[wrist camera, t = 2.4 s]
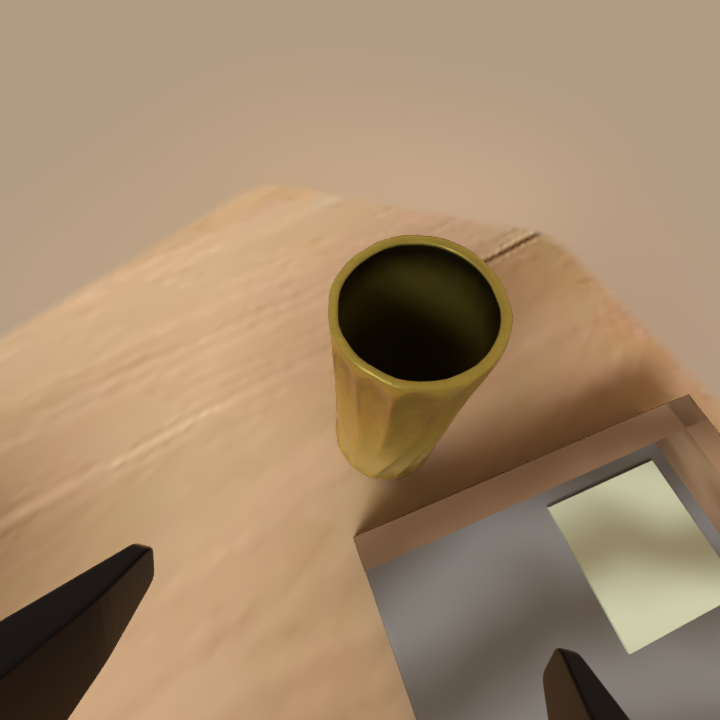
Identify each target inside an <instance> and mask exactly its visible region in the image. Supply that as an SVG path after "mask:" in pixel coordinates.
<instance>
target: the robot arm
mask: <svg viewBox="0 0 720 720" xmlns="http://www.w3.org/2000/svg"><path fill="white" fill-rule="evenodd" d="M153 576H154V559H153V549H152V548H151V547H149V546H145V545H141V544H132V545H130V546H128V547H127V548H125V549H123V550H121V551H120V552H118V553H116V554H115V555H113V556H111V557H109V558H108V559H106V560H104V561H103V562H101V563H99V564H97V565H96V566H94V567H92V568H91V569H89V570H87V571H85V572H84V573H82V574H80V575H79V576H77V577H75V578H73V579H72V580H70V581H68V582H67V583H65V584H63V585H61V586H60V587H58V588H56V589H55V590H53V591H51V592H49V593H48V594H46V595H44V596H43V597H41V598H39V599H37V600H36V601H34V602H32V603H31V604H29V605H27V606H25V607H24V608H22V609H20V610H19V611H17V612H15V613H13V614H12V615H10V616H8V617H7V618H5V619H3V620H2V621H0V720H68V718H69V717H70V715H71V714H72V712H73V711H74V709H75V708H76V706H77V705H78V703H79V702H80V700H81V699H82V697H83V696H84V694H85V693H86V692H87V690H88V689H89V687H90V686H91V684H92V683H93V681H94V680H95V678H96V677H97V675H98V674H99V672H100V671H101V669H102V668H103V666H104V665H105V663H106V662H107V660H108V658H109V657H110V655H111V653H112V652H113V650H114V648H115V647H116V645H117V643H118V641H119V639H120V638H121V636H122V634H123V632H124V631H125V629H126V627H127V625H128V624H129V622H130V620H131V618H132V616H133V615H134V613H135V611H136V609H137V608H138V606H139V604H140V602H141V600H142V599H143V597H144V595H145V593H146V592H147V590H148V588H149V586H150V584H151V582H152V580H153ZM543 688H544V694H545V701H546V708H547V715H548V720H630V719H629V718H628V716H627V715H626V714H625V712H624V711H623V710H622V708H621V707H620V706H619V704H618V703H617V702H616V701H615V699H614V698H613V697H612V695H611V694H610V693H609V691H608V690H607V689H606V688H605V686H604V685H603V684H602V682H601V681H600V680H599V678H598V677H597V676H596V675H595V673H594V672H593V671H592V669H591V668H590V667H589V665H588V664H587V663H586V661H585V660H584V659H583V658H582V656H581V655H579V654H578V653H577V652H575V651H572V650H567V649H563V648H557V649H555V650H554V652H553V654H552V656H551V658H550V660H549V662H548V664H547V666H546V668H545V670H544V673H543Z"/></svg>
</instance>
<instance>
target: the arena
mask: <svg viewBox="0 0 720 720" xmlns="http://www.w3.org/2000/svg"><path fill="white" fill-rule="evenodd" d="M353 539H354V542H355V545H356V548H357V551H358V553H359V556H360V559H361V562H362V565H363V568H364V571H365V572H366V575H367V578H368V580H369V583H370V586H371V589H372V592H373V595H374V598H375V601H376V604H377V607H378V609H379V612H380V615H381V618H382V621H383V624H384V627H385V630H386V633H387V636H388V638H389V641H390V644H391V647H392V650H393V653H394V656H395V659H396V662H397V665H398V667H399V670H400V673H401V676H402V679H403V682H404V685H405V688H406V691H407V694H408V696H409V699H410V702H411V705H412V708H413V711H414V714H415V717H416V720H548V715H547V708H546V701H545V694H544V688H543V673H544V670H545V668H546V666H547V664H548V662H549V660H550V658H551V656H552V654H553V652H554V650H555V649H557V648H563V649H567V650H572V651H575V652H577V653H578V654H579V655H581V656H582V658H583V659H584V660H585V661H586V663H587V664H588V665H589V667H590V668H591V669H592V671H593V672H594V673H595V675H596V676H597V677H598V678H599V680H600V681H601V682H602V684H603V685H604V686H605V688H606V689H607V690H608V691H609V693H610V694H611V695H612V697H613V698H614V699H615V701H616V702H617V703H618V704H619V706H620V707H621V708H622V710H623V711H624V712H625V714H626V715H627V716H628V718H629V719H630V720H720V433H719V432H718V431H717V430H716V428H715V427H714V426H713V425H712V423H711V422H710V421H709V420H708V418H707V417H706V416H705V414H704V413H703V412H702V411H701V409H700V408H699V407H698V406H697V404H696V403H695V402H694V400H693V399H692V398H691V397H690V395H689V394H688V395H685V396H683V397H681V398H678V399H676V400H673V401H671V402H668V403H666V404H663V405H661V406H659V407H656V408H654V409H651V410H649V411H646V412H644V413H642V414H639V415H637V416H635V417H632V418H630V419H628V420H625V421H623V422H621V423H618V424H616V425H614V426H611V427H609V428H607V429H604V430H602V431H600V432H597V433H595V434H593V435H590V436H588V437H586V438H583V439H581V440H578V441H576V442H574V443H571V444H569V445H567V446H564V447H562V448H560V449H557V450H555V451H553V452H550V453H548V454H546V455H543V456H541V457H539V458H536V459H534V460H532V461H529V462H527V463H525V464H522V465H520V466H518V467H515V468H513V469H511V470H508V471H506V472H504V473H501V474H499V475H497V476H494V477H492V478H490V479H487V480H485V481H483V482H480V483H478V484H476V485H473V486H471V487H469V488H466V489H464V490H462V491H459V492H457V493H455V494H452V495H450V496H448V497H445V498H443V499H441V500H438V501H436V502H434V503H431V504H429V505H427V506H424V507H422V508H420V509H417V510H415V511H413V512H410V513H408V514H406V515H403V516H401V517H399V518H396V519H394V520H392V521H389V522H387V523H385V524H382V525H380V526H378V527H375V528H373V529H371V530H368V531H366V532H364V533H361V534H359V535H357V536H354V537H353Z"/></svg>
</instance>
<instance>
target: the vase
mask: <svg viewBox="0 0 720 720" xmlns="http://www.w3.org/2000/svg"><path fill="white" fill-rule="evenodd" d="M328 319H329V327H330V333H331V339H332V353H333V363H334V374H335V386H336V404H337V412H338V417H337V421H336V435H337V441H338V445H339V447H340V449H341V451H342V453H343V454H344V456H345V457H346V459H347V460H348V462H349V463H350V464H351V465H352V466H353V467H354V468H355V469H357V470H358V471H360V472H362V473H363V474H365V475H367V476H369V477H373V478H377V479H398V478H401V477H404V476H406V475H408V474H410V473H412V472H413V471H414V470H416V469H417V468H419V467H420V466H421V465H422V464H423V463H424V461H425V460H426V458H427V457H428V455H429V453H430V451H431V450H432V449H433V447H434V446H435V444H436V443H437V442H438V440H439V439H440V437H441V436H442V434H443V433H444V432H445V430H446V429H447V427H448V426H449V425H450V423H451V422H452V420H453V419H454V417H455V416H456V415H457V413H458V412H459V410H460V409H461V408H462V407H463V405H464V404H465V403H466V401H467V400H468V399H469V397H470V396H471V395H472V393H473V392H474V391H475V390H476V389H477V387H478V386H479V385H480V384H481V383H482V382H483V381H484V379H485V378H486V377H487V376H488V374H489V373H490V372H491V371H492V369H493V368H494V367H495V366H496V364H497V363H498V361H499V359H500V357H501V356H502V354H503V352H504V350H505V348H506V345H507V343H508V340H509V337H510V333H511V329H512V319H513V315H512V310H511V306H510V302H509V299H508V296H507V294H506V291H505V289H504V287H503V285H502V283H501V282H500V280H499V278H498V277H497V276H496V274H495V273H494V272H493V271H492V269H491V268H490V267H489V266H488V265H487V264H486V263H485V262H484V261H483V260H482V259H480V258H479V257H478V256H477V255H476V254H474V253H473V252H471V251H470V250H468V249H466V248H465V247H463V246H461V245H459V244H456V243H454V242H452V241H449V240H446V239H442V238H437V237H431V236H418V235H403V236H397V237H392V238H389V239H385V240H382V241H380V242H377V243H375V244H373V245H372V246H370V247H368V248H367V249H365V250H363V251H362V252H360V253H358V254H357V255H356V256H354V257H353V258H352V259H351V260H349V261H348V262H347V263H346V265H345V266H344V267H343V268H342V270H341V271H340V273H339V274H338V275H337V277H336V278H335V280H334V282H333V284H332V287H331V290H330V294H329V307H328Z"/></svg>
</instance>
